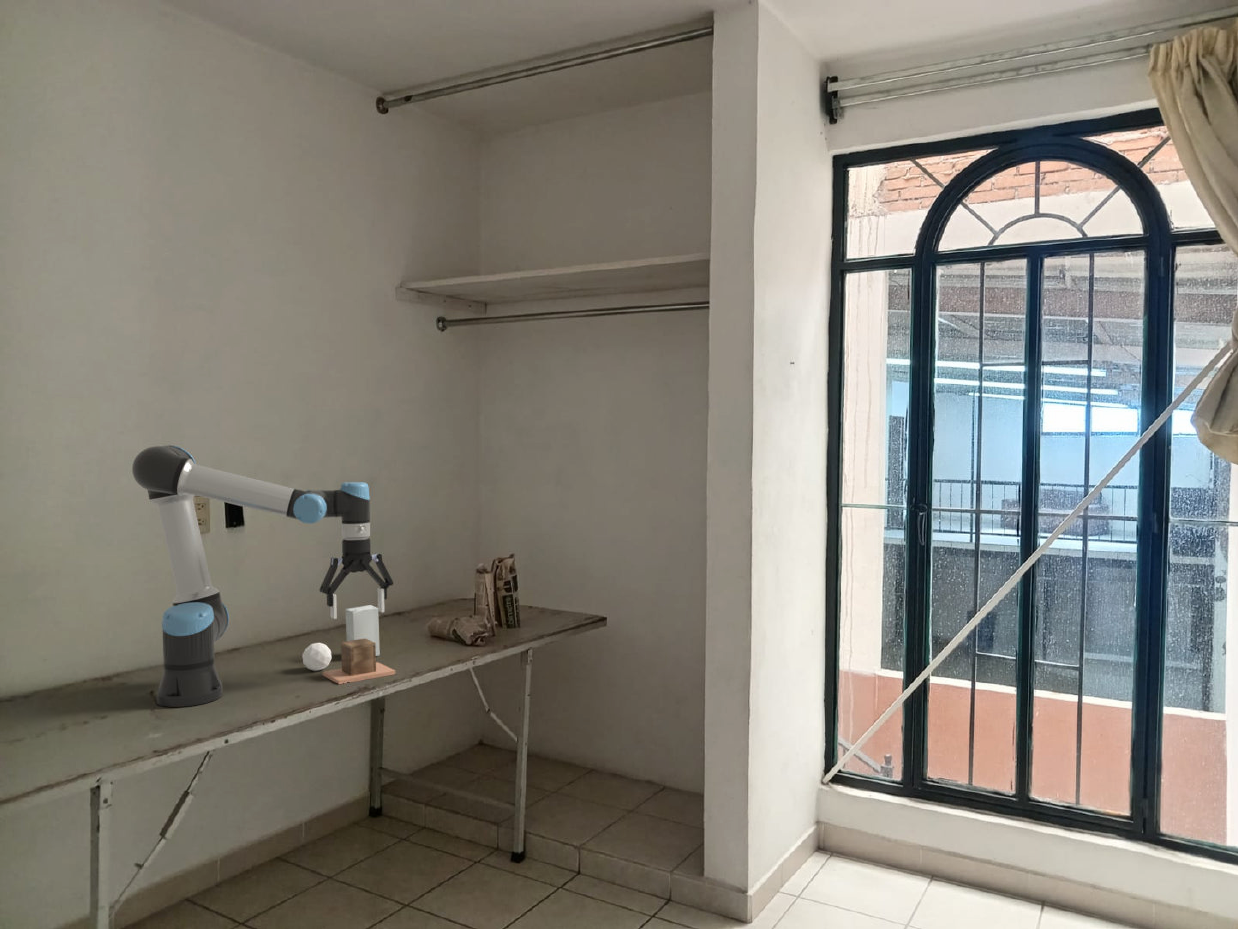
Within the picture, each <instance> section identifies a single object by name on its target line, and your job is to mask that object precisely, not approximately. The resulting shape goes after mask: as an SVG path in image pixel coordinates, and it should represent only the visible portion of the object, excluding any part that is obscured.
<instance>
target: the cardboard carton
mask: <svg viewBox="0 0 1238 929" xmlns="http://www.w3.org/2000/svg"><path fill="white" fill-rule="evenodd" d="M340 643H341V644H340V645H341V647H340V648H341V649H340V650H341V651H340V653H341V656H340V657H341V669H342V671H343V672H345V673H347V674H349V675H351V676H354V675H359V674H365V673H370V672H376V662H377V658H376V657H377V656H376V645H375V642H373V641H370V640H368V639H366V638H365V639H358V640H352V641H347V640H346V641H341V642H340Z"/></svg>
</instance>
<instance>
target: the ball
mask: <svg viewBox="0 0 1238 929" xmlns="http://www.w3.org/2000/svg"><path fill="white" fill-rule="evenodd" d="M301 655H302V657H301V658H302V663H303V665H304V666H305V667H306V668H307V669H308V670H311V671H314V672H317V671H323V669H325V668H327V667H328V666H329V664H330V663H331V660H332V651H331V649H330V648H329V647H328V646H327V644H325V643H322V642H314V643H311V644H310V645H308V646H307V647H306V648H305V649H304V651H303V653H302V654H301Z"/></svg>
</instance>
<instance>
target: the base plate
mask: <svg viewBox="0 0 1238 929" xmlns="http://www.w3.org/2000/svg"><path fill="white" fill-rule="evenodd" d="M391 675H396V670H395V669H393V668H390V666H387V665H385V664H382V663H381V662H377V661H376V672H370V673H365V674H359V675H354V676H351V675H349V674H347V673H345V672H343V671H342V668H337V669H331V670H330V669H329V670H325V671H322V676H323V677H325V678H327V679H328V680H330V681H333V682H334V683H336V684H337V683H338V684H337V685H343V683H344V684H348V683H347V682H350V683H354V682H360V681H365V680H369V679H371V680H372V679H376V678H382V677H386V676H391Z"/></svg>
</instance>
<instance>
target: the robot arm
mask: <svg viewBox="0 0 1238 929" xmlns="http://www.w3.org/2000/svg"><path fill="white" fill-rule="evenodd" d="M131 466H132V467H131V468H132V469H131V471H132V475H133V478H134V481H135V482H136V483H137V484H138V485H139V486H141V487H142V488H143V489H145V490H146V491H147V494H148V499H149V502H151V503H153V504H155V506H157V511H158V514H159V518H160V519H159V520H160V523H161V527H162V532H163V536H164V541H165V546H166V549H167V550H166V551H167V554H168V559H169V563H170V568H171V573H172V577H173V582H174V586H175V590H176V595H175V597H174V598H173V599H172V606H171V607H169V608H167V609H166V610H164V612H163V614H162V621H161V628H162V653H163V655H162V656H163V674H162V676H161V679H160V682H159V685H158V689H157V692H156V704H157V705H158V706H161V707H169V708H184V707H192V706H199V705H204V704H207V703H210V702H214V701H217V700H218V699H220V698H221V697H223V695H224V693H223V692H224V691H223V689H224V687H223V683H222V681H221V679H220V676H219V674H218V671H217V669H216V665H215V642H216V641H218V640H220V639H221V637H222V636H223V635H224V634H225V632H226V630H227V628H228V626H229V621H230V614H229V611H228V609H227V607H226V605H225V604H224V603H223V601H222V598H221V594H220V593H221V592H220V590H219V589H218V588H216V587H214V586H213V585H212V580H211V575H210V572H209V568H208V562H207V559H206V553H205V548H204V544H203V539H202V536H201V530H200V527H199V522H198V517H197V512H196V508H195V503H194V498H195V496H197V497H201V498H205V499H210V500H215V501H219V502H222V503H223V502H224V503H228V504H231V505H235V506H239V507H244V508H248V509H251V510H252V509H253V510H257V511H262V512H264V513H265V512H266V513H271V514H273V515H274V514H275V515H279V516H283V517H287V518H289V519H294V520H298V521H300V522H302V523H304V524H311V525H312V524H315V523H317V522H320V521H321V520H323V519H326V518H341V538H342V541H341V550H342V554H341V555H342V556H341V557H334V556H332V557H331V558H330V565H329V567H328V570H327V572H326V574H325V576H324V578H323V581H322V583H321V585H320V588H319V592H320V593H322V594H325V595H326V605H327V607H329V609H330V614H329V615H330V618H331V619H333V620H336V619H338V618H337V617H338V610H337V600H338V599H337V594H335V593H336V591H337V589H338V588H339V587H340V585H341V584H342V583H343V581H344V580H345V578H346V577H347V576H348V575H349V574H350V573H351V574H352V573H358V572H361V573H362V572H366V573H367V574H368V575H369V576H370V577H371V579H373V580H374V582H376V584H377V585H378V586H379V587H377V608H378V613H379V612H380V613H385V600H387V599H388V590H387V589H389V587H391V586H393V585H394V580H393V579H392V577H391V575H390V572H388V569H387V567H386V565H385V563H384V562H383V556H382V554H381V553H377V552H376V553H374V554H371V551H372V550H371V549H372V548H371V539H370V536H371V522H370V521H371V518H370V517H371V509H370V508H371V506H370V505H371V504H370V502H371V500H370V499H371V497H370V488H369V485H368V483H367V482H364V481H363V482H362V481H352V482H349V481H348V482H342V483H341V484H340V488H339V489H335V490H334V489H333V490H332V489H331V490H327V489H324V490H323V489H321V490H311V489H310V490H309V489H308V490H302V489H297V488H292V487H289V486H285V485H281V484H276V483H273V482H268V481H265V480H264V481H263V480H260V479H255V478H252V477H248V476H244V475H240V474H237V473H232V472H229V471H228V472H227V471H223V470H219V469H215V468H212V467H207V466H204V465H203V466H202V465H199V464H196V461H195V458H194V457H193V456H192V454H191V453H189V451H188V450H186V449H185V448H182V447H180V446H176V445H170V444H169V445H161V446H159V445H156V446H151V447H147V448H145V449H143V450H141V451H140V452H139V453H138V454H137V455H136V456H135V457H134V460H133V461H132V465H131ZM372 561H373V562H374V563H375V565H376V567H377V569H378V570H379V573H380V574H381V577H382V578H381V577H380V575H379V574H378V573H377V571H375V570H374V568H373V567H372V566H371V564H370V563H372ZM341 564H342V565H343V566H342V567H341V569H340V571H339V573H338V574H337V575H336V572H337V570H338V567H339V566H340V565H341ZM335 575H336V577H335ZM334 577H335V578H334Z"/></svg>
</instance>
